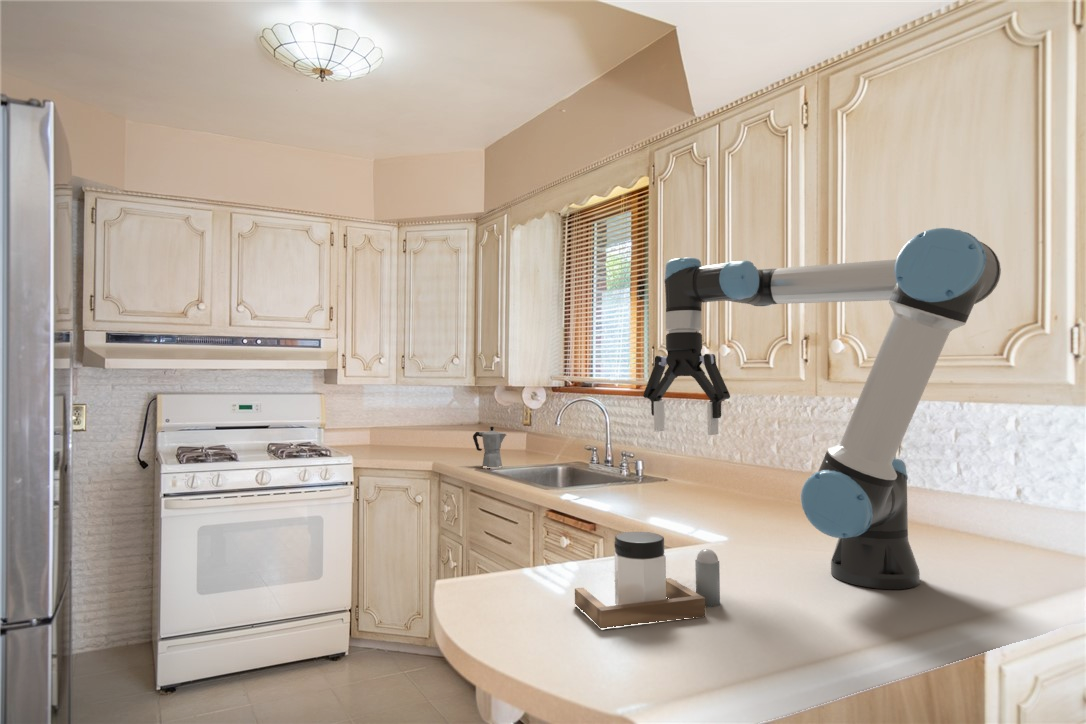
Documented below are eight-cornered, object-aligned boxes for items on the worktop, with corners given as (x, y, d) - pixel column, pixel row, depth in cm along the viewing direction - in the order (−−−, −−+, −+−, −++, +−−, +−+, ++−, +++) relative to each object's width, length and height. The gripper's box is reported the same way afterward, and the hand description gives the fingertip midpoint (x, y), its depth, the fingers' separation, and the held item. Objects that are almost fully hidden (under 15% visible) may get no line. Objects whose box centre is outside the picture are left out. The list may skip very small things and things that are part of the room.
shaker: (724, 602, 114) (723, 549, 114) (711, 608, 111) (710, 553, 112) (704, 597, 117) (703, 545, 117) (691, 602, 114) (690, 549, 114)
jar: (612, 601, 115) (611, 531, 116) (659, 600, 115) (658, 530, 116) (618, 619, 106) (617, 543, 107) (670, 619, 106) (668, 543, 107)
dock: (574, 606, 113) (574, 588, 113) (670, 595, 118) (670, 577, 118) (601, 630, 102) (601, 610, 102) (705, 616, 107) (705, 598, 107)
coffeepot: (510, 467, 294) (509, 425, 294) (503, 469, 285) (502, 427, 285) (476, 466, 298) (476, 425, 298) (469, 468, 289) (469, 427, 289)
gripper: (746, 329, 135) (747, 434, 135) (648, 336, 154) (649, 428, 153) (725, 327, 130) (727, 437, 130) (626, 334, 148) (628, 430, 148)
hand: (685, 432), depth 141 cm, fingers open, 13 cm apart
